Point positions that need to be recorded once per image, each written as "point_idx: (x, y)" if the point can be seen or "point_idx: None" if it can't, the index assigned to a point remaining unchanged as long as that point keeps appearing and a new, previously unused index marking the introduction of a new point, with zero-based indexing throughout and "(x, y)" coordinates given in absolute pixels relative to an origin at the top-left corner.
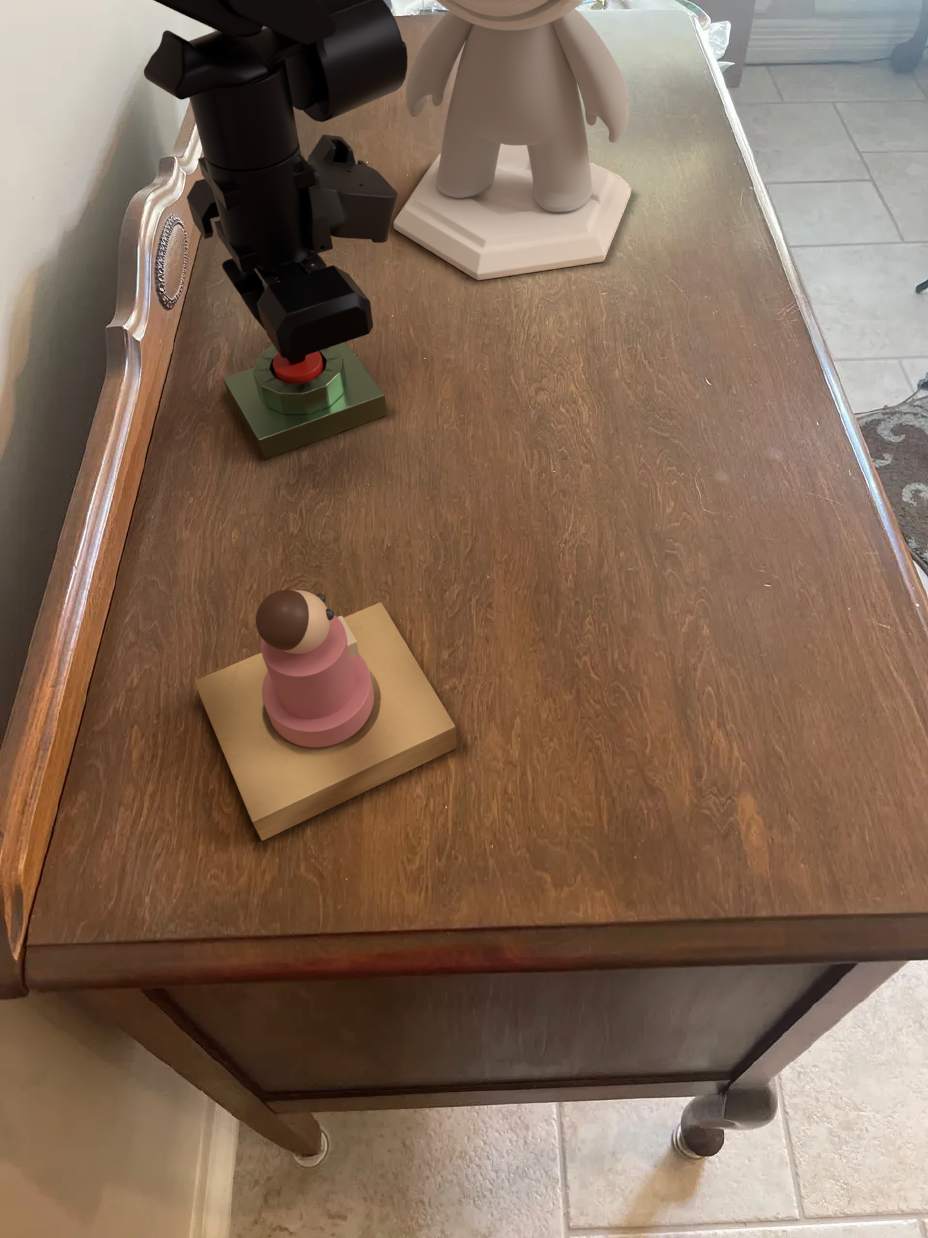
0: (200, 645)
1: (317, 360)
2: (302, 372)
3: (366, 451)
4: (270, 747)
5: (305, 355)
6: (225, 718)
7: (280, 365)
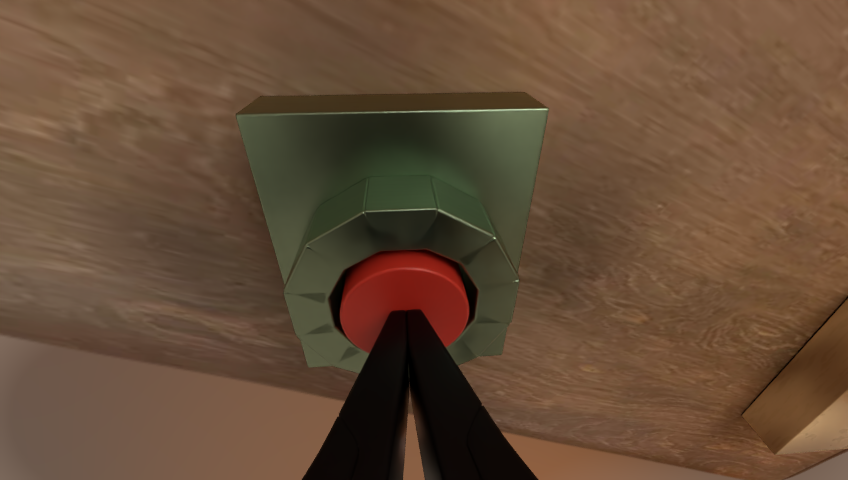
0: (686, 410)
1: (436, 283)
2: (458, 320)
3: (588, 178)
4: None
5: (427, 320)
6: (834, 444)
7: None
